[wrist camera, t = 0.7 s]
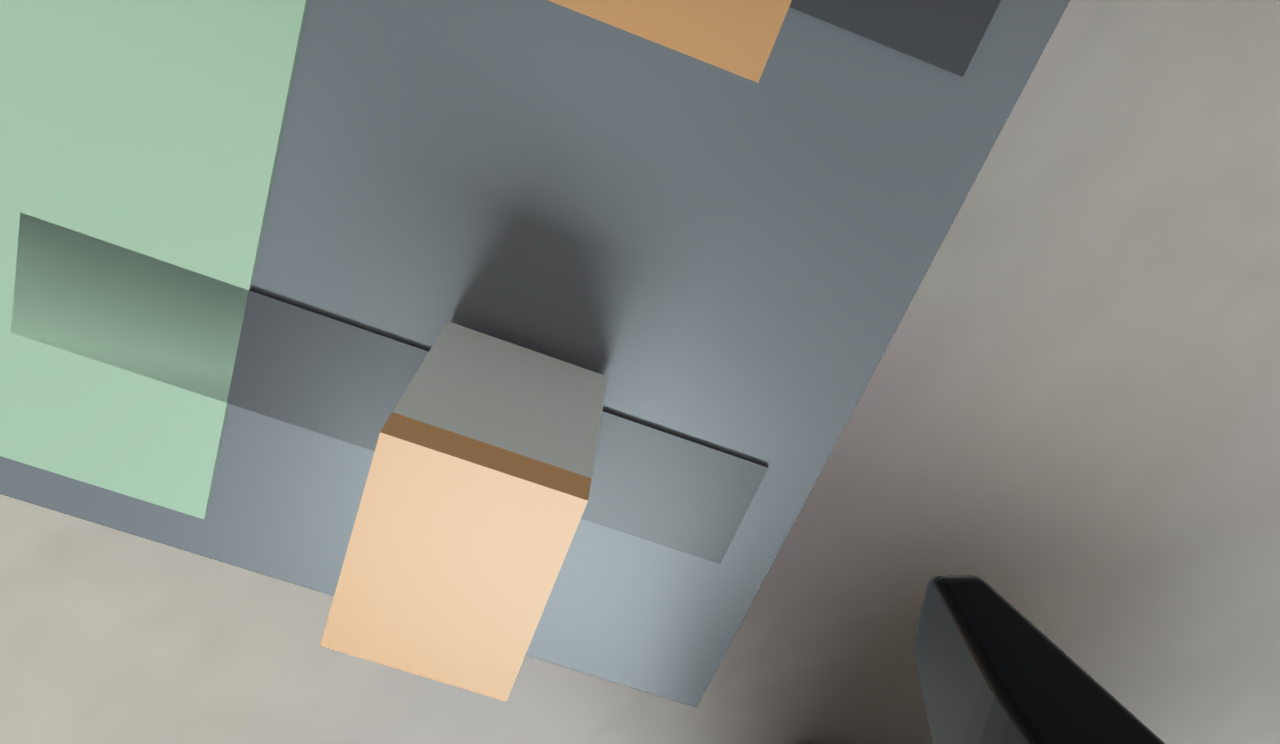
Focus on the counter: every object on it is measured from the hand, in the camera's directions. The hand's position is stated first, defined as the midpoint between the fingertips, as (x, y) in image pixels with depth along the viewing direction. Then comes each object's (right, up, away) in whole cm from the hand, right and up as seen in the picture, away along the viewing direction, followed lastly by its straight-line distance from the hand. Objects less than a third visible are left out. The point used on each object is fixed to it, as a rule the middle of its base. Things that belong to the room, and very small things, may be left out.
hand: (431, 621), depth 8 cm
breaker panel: (-1, +7, +9) cm, 12 cm away
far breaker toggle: (-1, +1, +9) cm, 9 cm away
